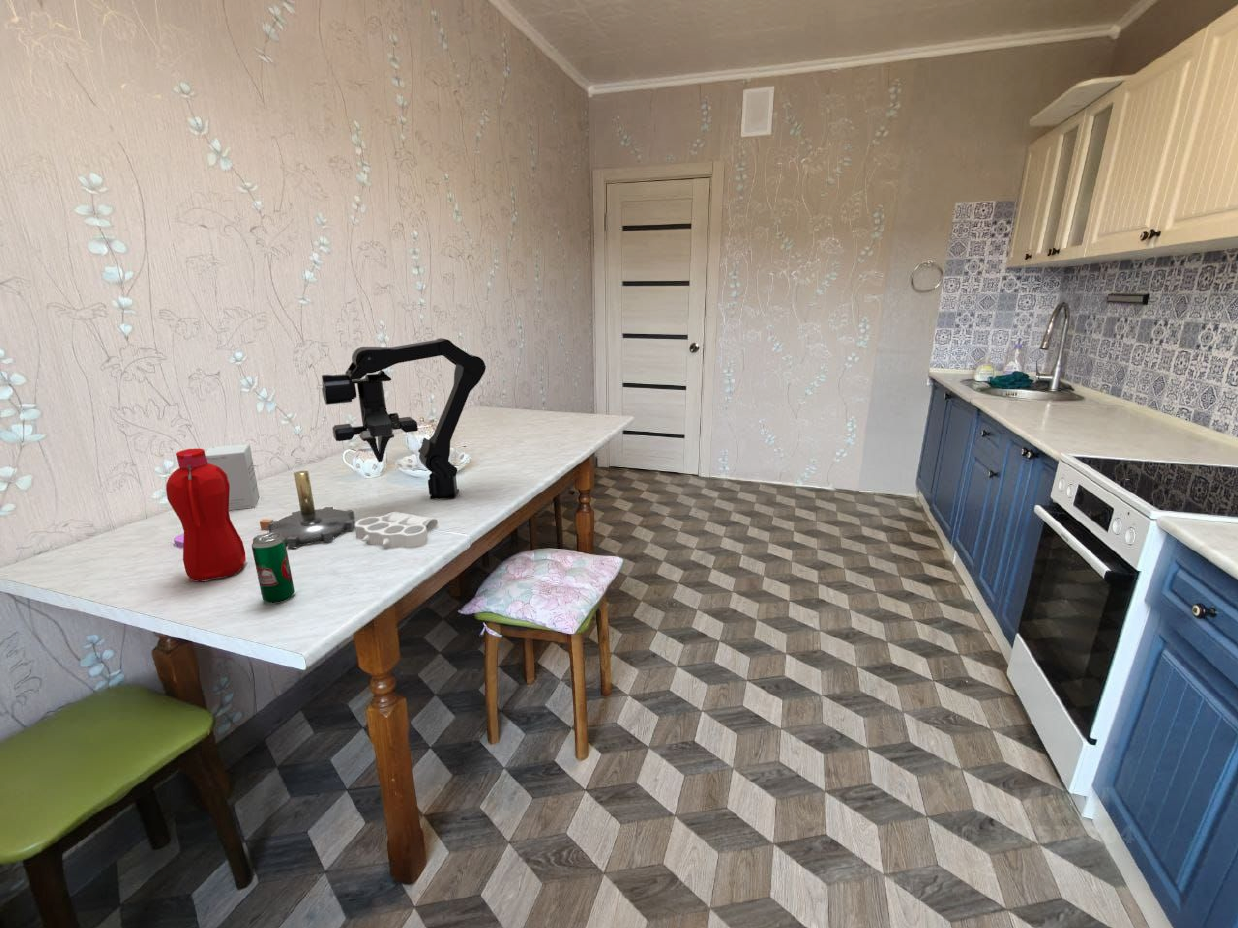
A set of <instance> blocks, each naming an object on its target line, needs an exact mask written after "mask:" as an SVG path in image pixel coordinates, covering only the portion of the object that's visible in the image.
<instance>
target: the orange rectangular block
mask: <svg viewBox="0 0 1238 928" xmlns="http://www.w3.org/2000/svg"><path fill="white" fill-rule="evenodd" d="M271 521H274V520H273V519H262V520H260V521H259V524H260V528H261V530H264V531H269V529H268V524H269V523H270V522H271Z"/></svg>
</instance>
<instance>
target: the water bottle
mask: <svg viewBox="0 0 1238 928" xmlns="http://www.w3.org/2000/svg"><path fill="white" fill-rule="evenodd" d="M205 450H206V449H204V448H186V449H183V450H179V451H177V452H176V453H175V456H176V460H177V464H178V468H177V469H176V470H174V471H173V472H172V473H171V475H169V477H168V479H167V482H166V484H165V485H166V487H165V488H166V498H167V502H169V504H170V506H171V508H172V510H173V511H174V513H175V515H176V517H177V518H178V519H179V521H180V524H181V528H182V529H183V533H184V540H183V548H182V561H183V566H184V571H185V574H186V576H187V578H188V579H189V580H192V581H195V582H203V581H204V582H205V581H210V580H215V579H221V578H229V577H231V576H233V575H236V574H238V573H239V572H240V571H241V570H242V569H243V568H244V565H245V563H246V551H245V550H246V549H245V546H244V543H243V540H242V539H241V536H240V534H239V533H238V530H237V529H236V527H235V526H234V523H233V522H232V520H231V515H230V510H229V492H230V485H229V481H228V478H227V475H226V473H225V472H224V471H223V470H222V469H221V468H220V467H218V466H216V465H213V464H210V463H207V459H206V455H205V452H206V451H205Z"/></svg>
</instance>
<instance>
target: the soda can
mask: <svg viewBox="0 0 1238 928" xmlns="http://www.w3.org/2000/svg"><path fill="white" fill-rule="evenodd" d="M268 532H269V531H268ZM268 532H264V533H261V534H259V535H256V536H255V537H253V539H252V544H251V551H252V554H253V559H254V563H255V564H254V565H255V570H256V574H257V579H258V583H259V588H260V592H261V593H260V594H261V598H262V600H263V601H264V602H266V603H268V604H278V603H279V604H280V603H283V602H285V601H287V600H290V598H291V597H292V596H294V594H295V592H296V589H295V586H294V579H293V574H292V568H291V565H290V560H289V554H288V549H287V548H288V547H287V545H286V543H285V539H284V538H283V537H282V536H281V533H278V532H269V533H268Z"/></svg>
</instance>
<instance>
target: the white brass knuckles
mask: <svg viewBox="0 0 1238 928" xmlns="http://www.w3.org/2000/svg"><path fill="white" fill-rule="evenodd" d="M354 523H355V525H354V526H355V528H354V532H355V538H357V539H358V540H359V539H360V540H361V542H365V543H366V544H369V545H372V546H373V545H376V546H381V547H382V548H397V547H398V548H399V547H400V548H401V547H403V548H407V549H414V548H418V547H422V546H423V545H425V544H426V543H428V539H429V538H428V533H429V532H432V531H433V530H435V529H436V528H437V526H438V525H439V521H438V519H436V518H434V517H425V516H419V515H416V514H410V513H409V514H408V513H402V512H399V511H392V512H388V513H386V514H385V515H381V516H369V517H364V518H361V519H358V520H357V521H356V522H354Z"/></svg>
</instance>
